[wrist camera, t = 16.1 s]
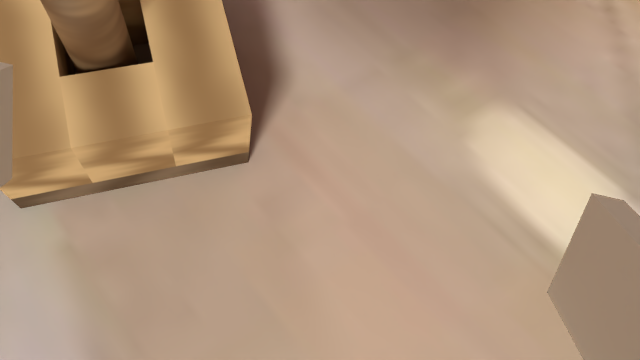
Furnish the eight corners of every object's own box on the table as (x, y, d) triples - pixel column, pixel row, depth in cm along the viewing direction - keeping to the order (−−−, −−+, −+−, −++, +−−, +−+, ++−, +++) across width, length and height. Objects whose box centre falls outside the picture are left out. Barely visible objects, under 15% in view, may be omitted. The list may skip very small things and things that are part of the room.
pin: (136, 50, 44) (100, -66, 33) (146, 98, 43) (112, -6, 31) (80, 60, 43) (23, -56, 32) (89, 109, 42) (33, 6, 31)
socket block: (206, -3, 49) (201, -75, 41) (248, 162, 44) (251, 114, 37) (-2, 25, 45) (-48, -48, 38) (20, 208, 41) (-26, 165, 33)
